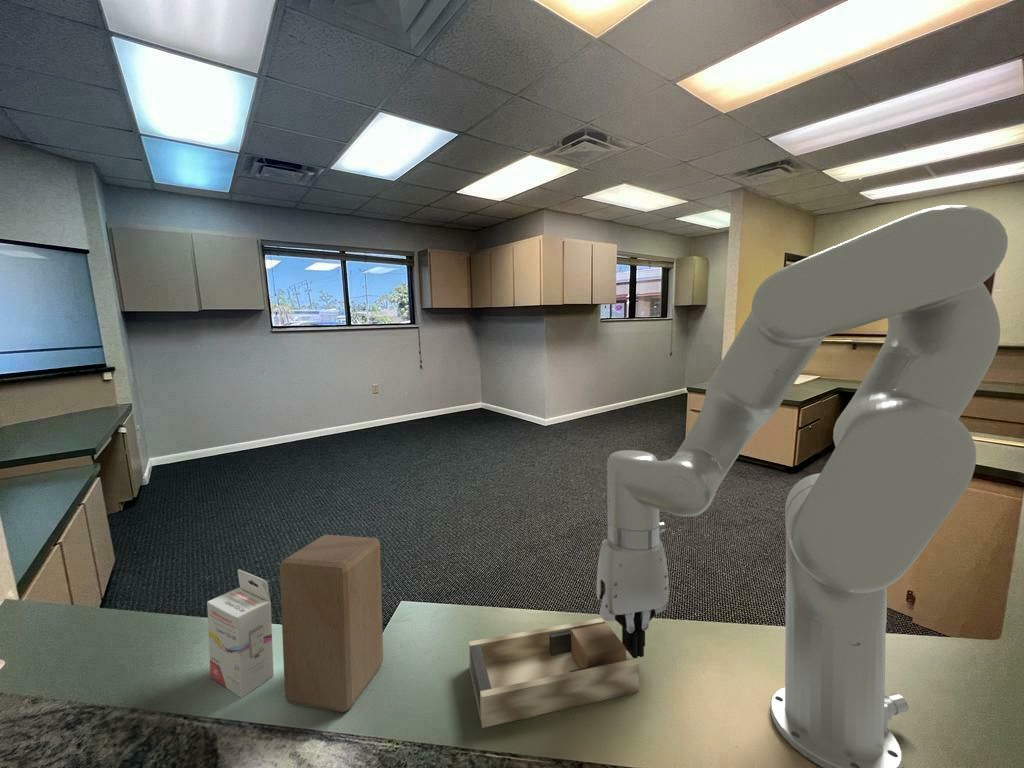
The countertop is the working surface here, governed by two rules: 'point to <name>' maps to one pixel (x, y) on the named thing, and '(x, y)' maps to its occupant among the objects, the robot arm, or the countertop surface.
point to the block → (331, 621)
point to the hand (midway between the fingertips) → (633, 651)
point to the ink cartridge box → (241, 636)
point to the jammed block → (596, 646)
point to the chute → (541, 675)
